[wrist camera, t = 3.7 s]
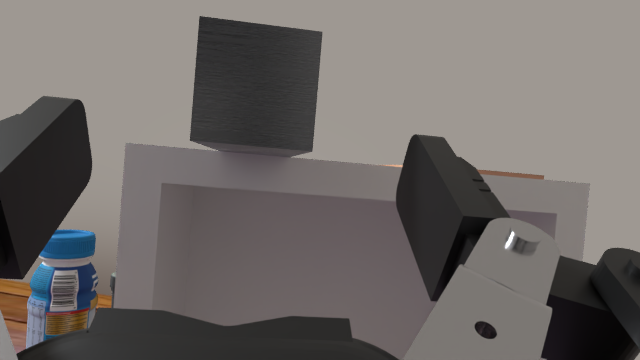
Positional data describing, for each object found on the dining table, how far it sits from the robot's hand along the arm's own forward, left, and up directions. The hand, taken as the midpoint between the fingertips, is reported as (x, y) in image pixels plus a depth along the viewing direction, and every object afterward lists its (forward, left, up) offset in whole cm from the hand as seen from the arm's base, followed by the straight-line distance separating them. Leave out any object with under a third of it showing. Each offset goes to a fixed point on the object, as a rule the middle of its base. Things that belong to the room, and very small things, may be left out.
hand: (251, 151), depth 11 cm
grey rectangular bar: (-5, +8, 0) cm, 10 cm away
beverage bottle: (-49, +35, -32) cm, 68 cm away
